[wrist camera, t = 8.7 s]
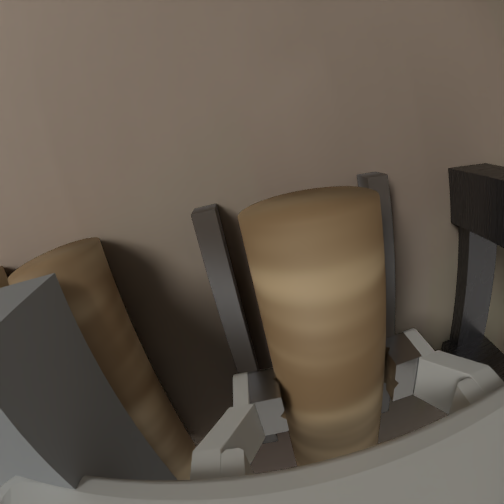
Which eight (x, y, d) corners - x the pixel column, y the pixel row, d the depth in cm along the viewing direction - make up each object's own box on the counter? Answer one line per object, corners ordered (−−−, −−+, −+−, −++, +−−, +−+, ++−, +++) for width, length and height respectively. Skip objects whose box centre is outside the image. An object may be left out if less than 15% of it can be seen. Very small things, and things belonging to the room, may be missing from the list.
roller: (237, 203, 10) (238, 238, 6) (350, 181, 10) (406, 202, 6) (292, 437, 14) (302, 497, 10) (363, 419, 14) (385, 475, 10)
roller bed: (-65, 290, 11) (-101, 317, 8) (375, 171, 11) (432, 186, 7) (21, 433, 15) (2, 468, 12) (382, 398, 15) (407, 448, 11)
